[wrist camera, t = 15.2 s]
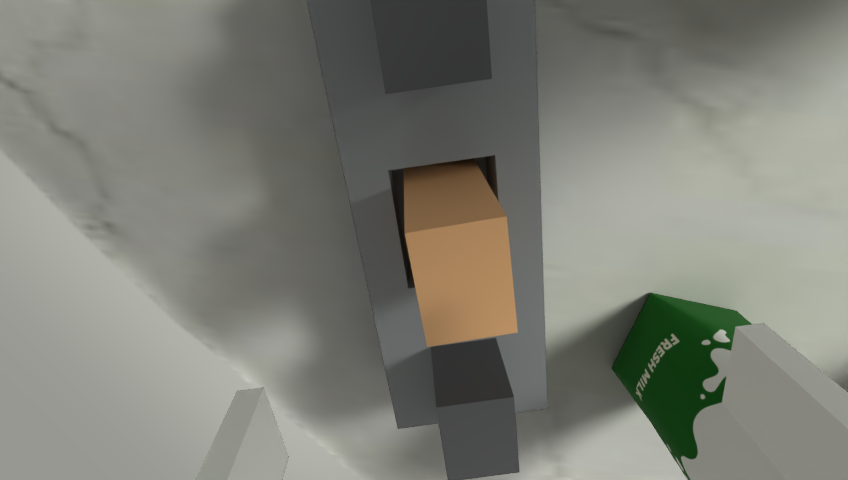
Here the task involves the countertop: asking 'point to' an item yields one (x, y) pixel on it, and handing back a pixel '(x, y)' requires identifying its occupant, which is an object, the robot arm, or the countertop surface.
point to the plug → (458, 253)
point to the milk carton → (690, 388)
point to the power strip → (430, 144)
